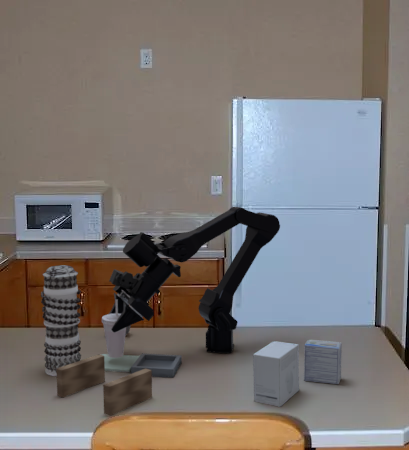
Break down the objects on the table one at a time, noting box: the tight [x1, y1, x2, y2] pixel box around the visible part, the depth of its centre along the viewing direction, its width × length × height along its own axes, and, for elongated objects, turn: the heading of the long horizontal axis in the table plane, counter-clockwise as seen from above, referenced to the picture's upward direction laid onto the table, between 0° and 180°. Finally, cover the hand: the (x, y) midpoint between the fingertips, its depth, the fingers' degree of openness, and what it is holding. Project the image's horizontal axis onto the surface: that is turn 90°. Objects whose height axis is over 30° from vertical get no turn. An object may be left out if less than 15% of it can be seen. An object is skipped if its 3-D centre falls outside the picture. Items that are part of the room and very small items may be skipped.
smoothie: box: [101, 298, 126, 358], centre depth 158 cm, size 6×6×14 cm
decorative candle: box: [40, 264, 82, 377], centre depth 153 cm, size 9×9×25 cm
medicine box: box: [303, 339, 343, 385], centre depth 147 cm, size 8×4×9 cm, turn 71°
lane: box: [56, 354, 153, 416], centre depth 138 cm, size 12×17×6 cm
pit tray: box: [130, 353, 183, 378], centre depth 155 cm, size 10×10×2 cm
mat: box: [100, 353, 140, 373], centre depth 159 cm, size 10×10×1 cm
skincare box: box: [252, 340, 300, 408], centre depth 138 cm, size 10×6×10 cm, turn 150°
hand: (109, 327), depth 157 cm, fingers closed on smoothie, 6 cm apart
